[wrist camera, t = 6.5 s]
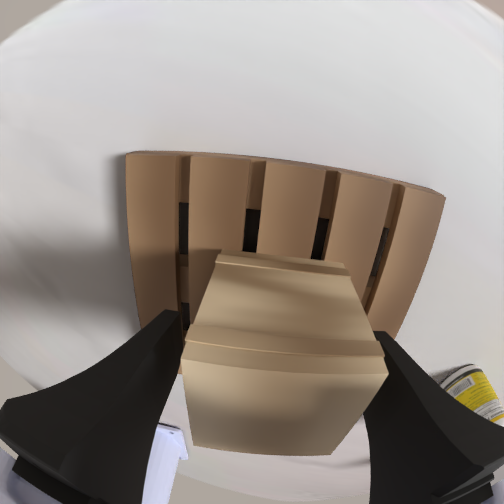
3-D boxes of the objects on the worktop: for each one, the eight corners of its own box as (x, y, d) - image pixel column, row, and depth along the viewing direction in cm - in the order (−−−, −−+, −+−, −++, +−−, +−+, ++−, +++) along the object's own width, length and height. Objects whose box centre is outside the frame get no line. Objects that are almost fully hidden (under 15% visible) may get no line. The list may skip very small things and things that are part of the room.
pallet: (154, 346, 17) (144, 366, 15) (138, 150, 11) (119, 155, 10) (365, 368, 16) (371, 388, 15) (431, 188, 11) (450, 198, 10)
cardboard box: (217, 340, 13) (192, 445, 8) (220, 247, 11) (178, 356, 6) (317, 350, 13) (330, 455, 8) (344, 262, 11) (391, 372, 6)
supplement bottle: (459, 398, 18) (488, 474, 10) (421, 405, 19) (448, 493, 10) (489, 360, 16) (531, 439, 7) (452, 364, 16) (496, 461, 7)
